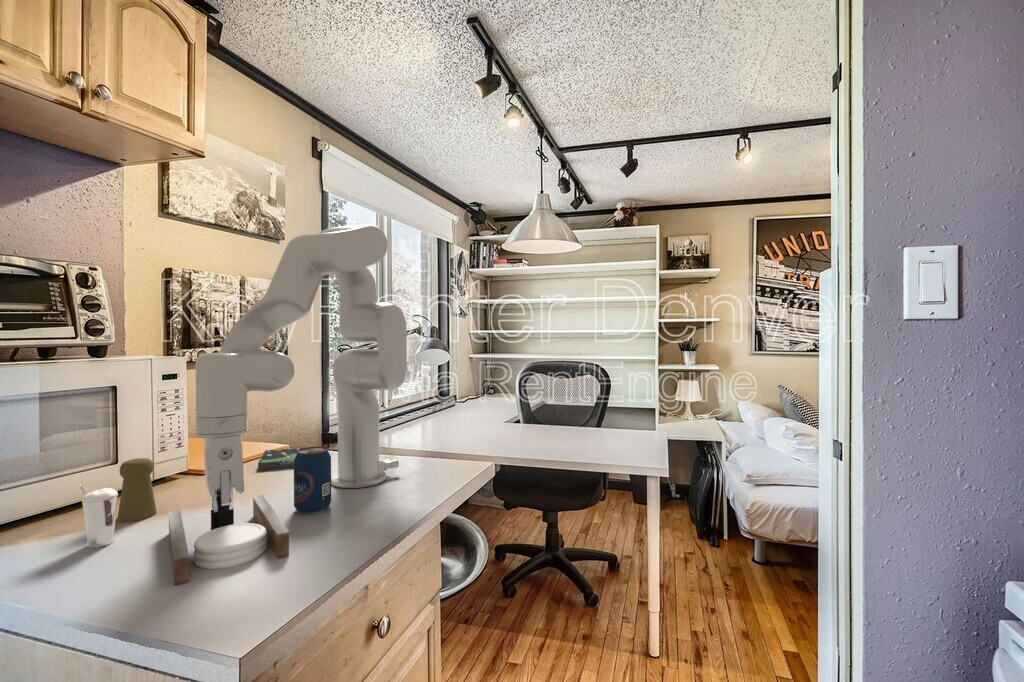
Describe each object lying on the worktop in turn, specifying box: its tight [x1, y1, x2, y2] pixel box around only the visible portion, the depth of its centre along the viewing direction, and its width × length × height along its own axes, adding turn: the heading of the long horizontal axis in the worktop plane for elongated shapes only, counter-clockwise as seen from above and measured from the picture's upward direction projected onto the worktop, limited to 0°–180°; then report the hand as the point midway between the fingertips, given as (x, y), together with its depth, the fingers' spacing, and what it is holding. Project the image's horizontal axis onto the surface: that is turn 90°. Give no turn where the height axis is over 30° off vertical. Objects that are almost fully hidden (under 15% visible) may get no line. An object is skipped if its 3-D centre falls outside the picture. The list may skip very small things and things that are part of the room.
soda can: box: [293, 446, 332, 515], centre depth 96 cm, size 7×7×12 cm
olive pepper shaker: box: [116, 457, 158, 523], centre depth 92 cm, size 6×6×11 cm
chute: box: [168, 494, 290, 586], centre depth 80 cm, size 15×22×4 cm
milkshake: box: [79, 484, 119, 549], centre depth 80 cm, size 4×5×10 cm
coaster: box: [193, 522, 267, 570], centre depth 76 cm, size 10×10×4 cm
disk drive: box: [257, 447, 303, 472], centre depth 132 cm, size 10×3×15 cm
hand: (222, 532), depth 81 cm, fingers closed
